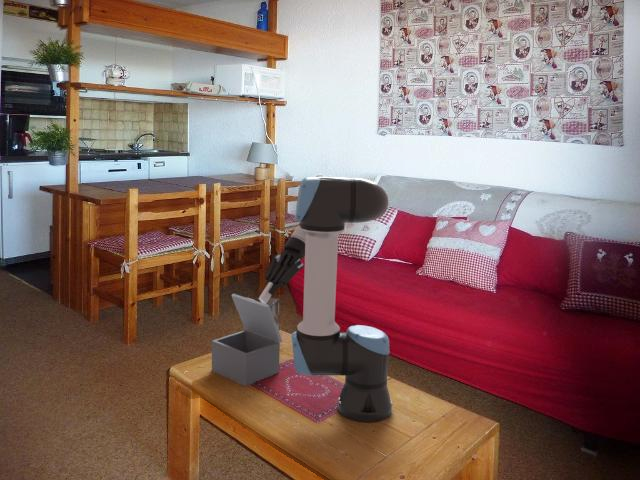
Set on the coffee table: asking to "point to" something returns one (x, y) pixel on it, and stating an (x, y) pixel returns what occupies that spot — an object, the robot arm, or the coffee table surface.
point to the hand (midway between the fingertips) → (262, 301)
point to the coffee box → (274, 310)
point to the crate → (245, 357)
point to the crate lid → (257, 317)
